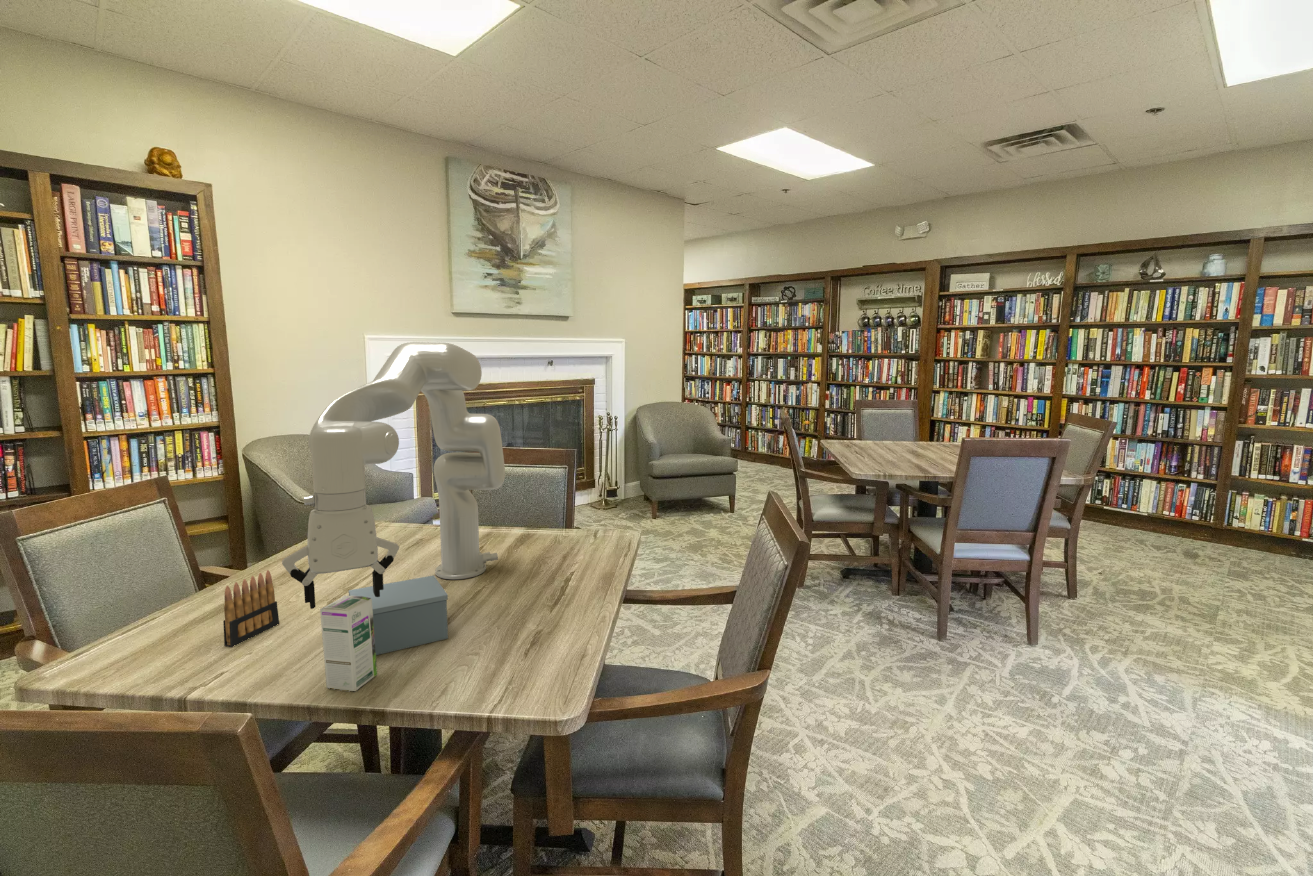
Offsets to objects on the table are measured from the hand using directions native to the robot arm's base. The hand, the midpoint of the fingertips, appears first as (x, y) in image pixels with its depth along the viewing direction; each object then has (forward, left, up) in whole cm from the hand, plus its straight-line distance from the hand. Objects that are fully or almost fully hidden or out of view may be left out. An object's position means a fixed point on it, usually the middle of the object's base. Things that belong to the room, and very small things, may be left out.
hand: (345, 600), depth 100 cm
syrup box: (0, 0, -15) cm, 15 cm away
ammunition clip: (+15, -30, -15) cm, 37 cm away
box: (-10, -14, -15) cm, 23 cm away
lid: (-10, -14, -7) cm, 19 cm away
